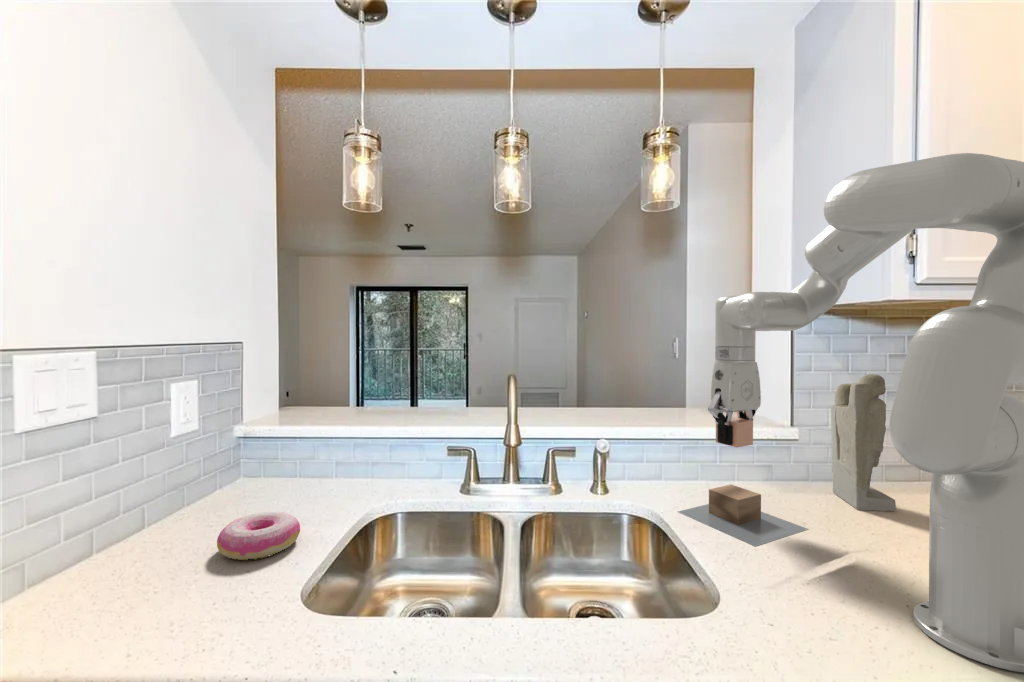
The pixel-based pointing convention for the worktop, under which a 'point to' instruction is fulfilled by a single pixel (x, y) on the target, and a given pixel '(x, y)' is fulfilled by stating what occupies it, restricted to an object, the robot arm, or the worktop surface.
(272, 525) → the donut
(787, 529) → the slate board
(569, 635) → the worktop surface
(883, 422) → the sculpture
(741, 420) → the terracotta cube
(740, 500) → the walnut base
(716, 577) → the worktop surface
